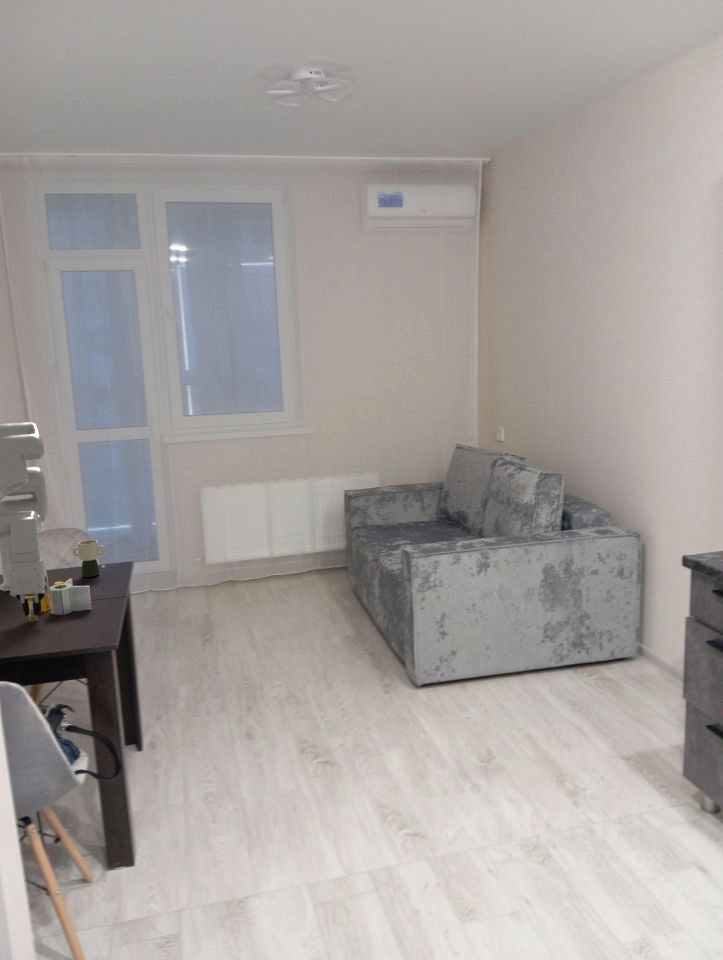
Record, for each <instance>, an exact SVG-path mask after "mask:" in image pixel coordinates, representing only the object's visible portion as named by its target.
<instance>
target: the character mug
mask: <svg viewBox="0 0 723 960" xmlns="http://www.w3.org/2000/svg"><path fill="white" fill-rule="evenodd" d="M99 549H101V551H99ZM76 551H77V552H78V553H77V552H76ZM72 554H73V556H74V557H78V558H79V559H78V560H80V561H82V562H81V576H82V577H85V578H92V577H95V576H97V575H100V569H99V564H98V560H97V559H99V557H100V555H104V554H105V547H104V545H99V542H98V540H97V539H86V540H85V539H84V540H80V541H77V547H75V546H74V547H73V548H72Z"/></svg>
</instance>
